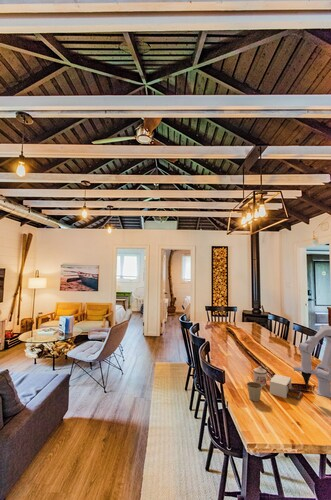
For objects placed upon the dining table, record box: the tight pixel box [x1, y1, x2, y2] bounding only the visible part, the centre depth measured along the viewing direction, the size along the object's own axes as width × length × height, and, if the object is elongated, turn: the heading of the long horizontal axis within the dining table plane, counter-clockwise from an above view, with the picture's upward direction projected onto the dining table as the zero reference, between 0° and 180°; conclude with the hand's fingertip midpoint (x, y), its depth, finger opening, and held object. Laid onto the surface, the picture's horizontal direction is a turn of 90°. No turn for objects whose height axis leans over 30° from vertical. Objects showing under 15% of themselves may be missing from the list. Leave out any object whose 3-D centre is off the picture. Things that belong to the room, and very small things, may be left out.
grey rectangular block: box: [269, 373, 292, 399], centre depth 174 cm, size 15×10×8 cm
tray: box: [287, 388, 303, 401], centre depth 171 cm, size 10×14×2 cm
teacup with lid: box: [252, 365, 272, 387], centre depth 186 cm, size 12×9×12 cm
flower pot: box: [246, 381, 263, 402], centre depth 164 cm, size 9×9×9 cm
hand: (306, 384), depth 165 cm, fingers closed
